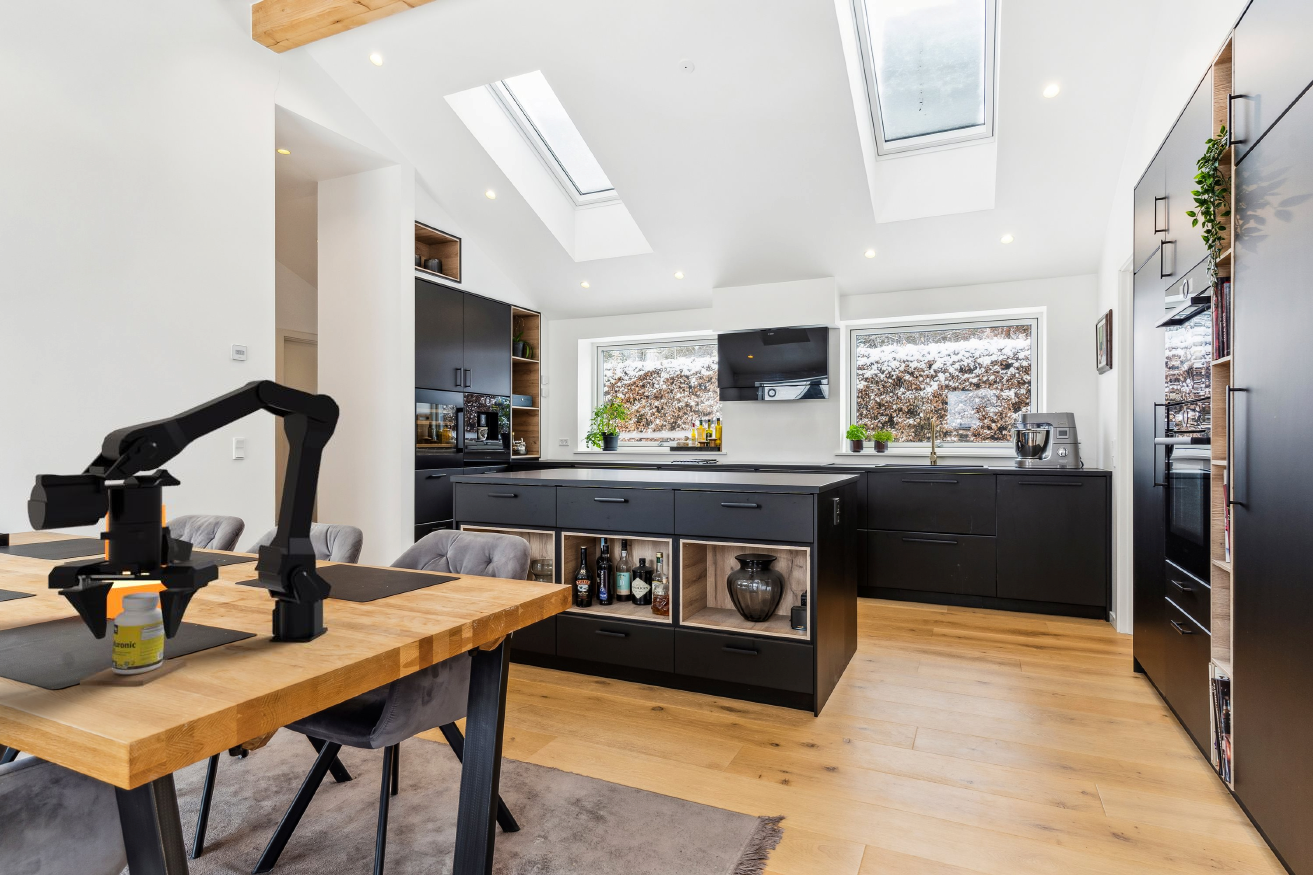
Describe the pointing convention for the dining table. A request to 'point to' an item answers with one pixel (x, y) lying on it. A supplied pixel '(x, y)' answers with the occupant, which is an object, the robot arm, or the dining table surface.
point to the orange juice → (129, 584)
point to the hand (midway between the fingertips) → (135, 638)
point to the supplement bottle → (138, 634)
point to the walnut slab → (134, 675)
